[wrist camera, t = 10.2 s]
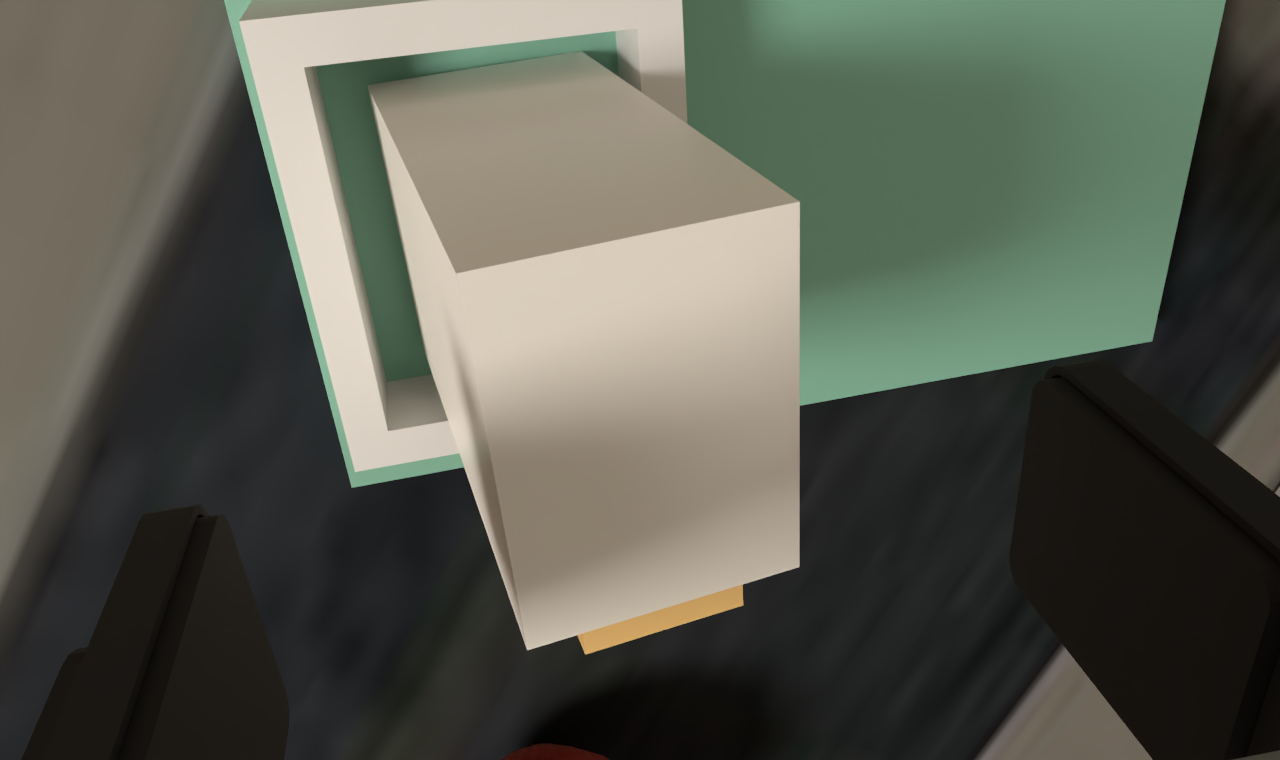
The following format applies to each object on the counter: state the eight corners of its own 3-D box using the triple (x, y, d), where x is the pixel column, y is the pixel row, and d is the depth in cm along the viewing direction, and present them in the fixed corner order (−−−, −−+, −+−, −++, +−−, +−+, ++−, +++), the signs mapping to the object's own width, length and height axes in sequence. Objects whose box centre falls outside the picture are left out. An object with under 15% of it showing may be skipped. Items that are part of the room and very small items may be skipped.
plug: (581, 51, 19) (800, 201, 12) (611, 335, 22) (799, 598, 15) (367, 84, 18) (456, 274, 11) (430, 378, 21) (533, 682, 14)
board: (1232, -202, 20) (1353, -203, 18) (1127, 324, 27) (1206, 379, 24) (205, -111, 17) (175, -97, 15) (352, 463, 23) (349, 543, 21)
